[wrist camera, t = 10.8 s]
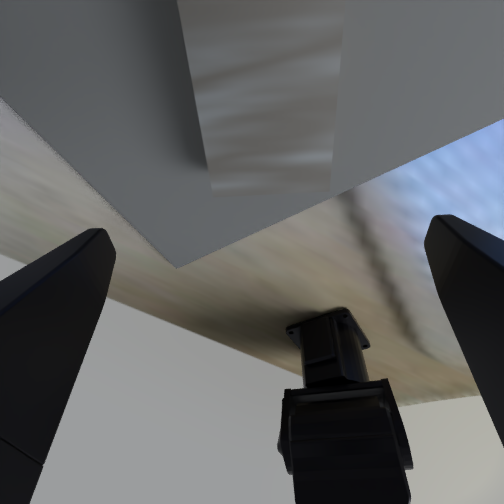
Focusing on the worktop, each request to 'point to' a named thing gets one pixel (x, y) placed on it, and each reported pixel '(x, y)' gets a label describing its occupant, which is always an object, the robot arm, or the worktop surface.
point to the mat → (186, 116)
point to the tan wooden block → (265, 91)
